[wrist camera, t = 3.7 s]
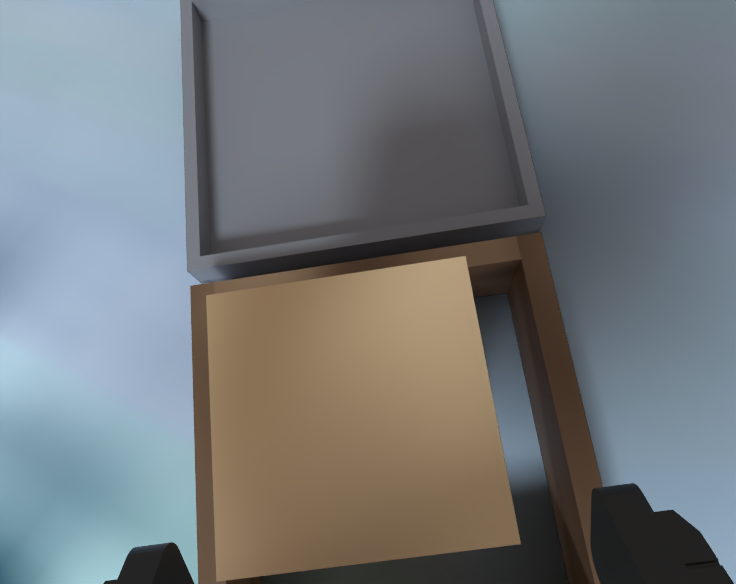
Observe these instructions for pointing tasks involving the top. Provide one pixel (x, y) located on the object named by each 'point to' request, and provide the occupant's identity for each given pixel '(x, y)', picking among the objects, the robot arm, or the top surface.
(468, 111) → the tray
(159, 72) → the top surface
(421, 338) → the oak peg
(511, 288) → the square wooden frame
